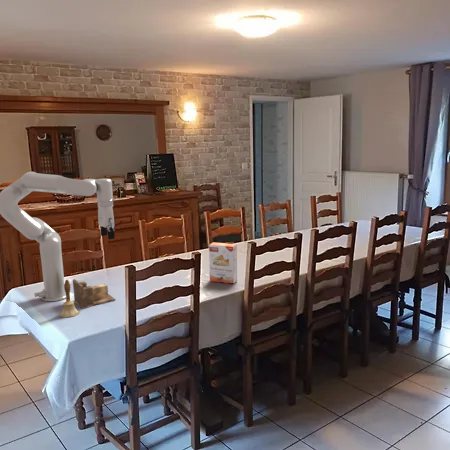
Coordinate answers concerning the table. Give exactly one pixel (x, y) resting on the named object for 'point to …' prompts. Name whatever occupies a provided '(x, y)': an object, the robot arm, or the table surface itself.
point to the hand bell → (68, 303)
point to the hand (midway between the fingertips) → (107, 237)
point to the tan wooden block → (100, 291)
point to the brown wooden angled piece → (87, 295)
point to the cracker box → (223, 262)
